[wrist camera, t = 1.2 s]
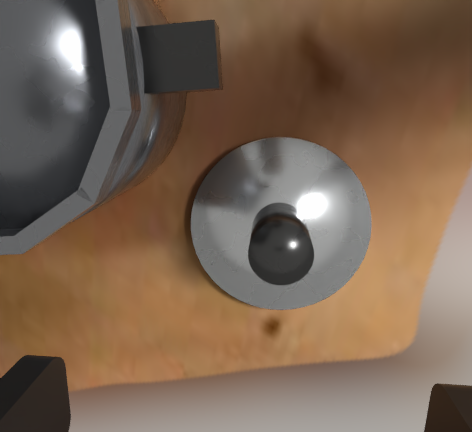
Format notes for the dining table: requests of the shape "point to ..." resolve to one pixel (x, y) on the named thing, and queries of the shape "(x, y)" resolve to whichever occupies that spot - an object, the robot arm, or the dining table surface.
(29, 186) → the pot
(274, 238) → the lid
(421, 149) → the dining table surface
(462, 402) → the robot arm
